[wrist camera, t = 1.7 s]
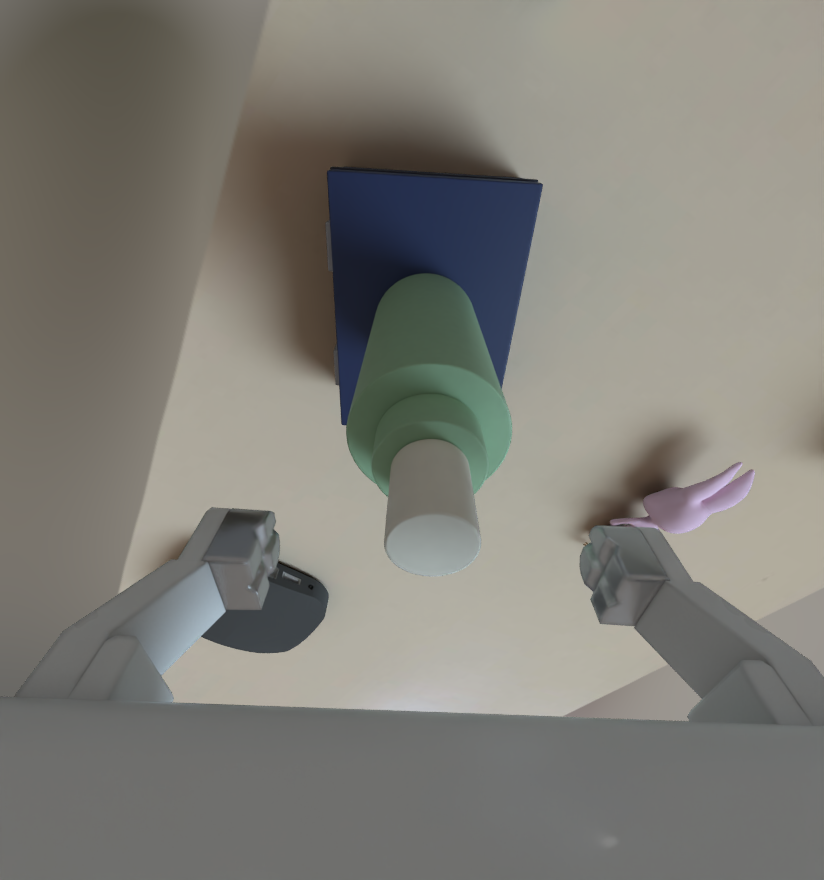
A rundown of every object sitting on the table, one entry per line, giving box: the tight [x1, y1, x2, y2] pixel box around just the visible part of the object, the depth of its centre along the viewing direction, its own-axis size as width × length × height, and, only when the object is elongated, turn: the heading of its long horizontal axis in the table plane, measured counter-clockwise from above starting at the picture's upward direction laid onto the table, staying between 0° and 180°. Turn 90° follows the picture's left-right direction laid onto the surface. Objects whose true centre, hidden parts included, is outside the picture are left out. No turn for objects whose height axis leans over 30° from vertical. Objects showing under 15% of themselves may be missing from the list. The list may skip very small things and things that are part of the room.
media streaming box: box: [201, 563, 328, 653], centre depth 45 cm, size 15×15×3 cm
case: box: [326, 167, 543, 425], centre depth 25 cm, size 14×10×5 cm
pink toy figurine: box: [583, 462, 755, 546], centre depth 35 cm, size 6×6×15 cm
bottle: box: [346, 273, 512, 576], centre depth 16 cm, size 6×6×16 cm
